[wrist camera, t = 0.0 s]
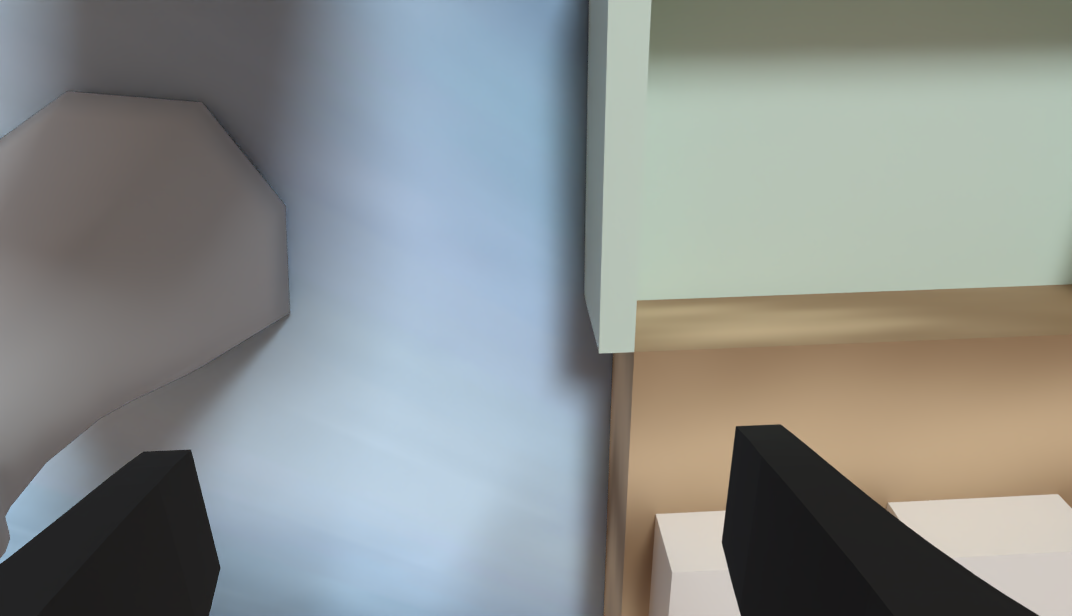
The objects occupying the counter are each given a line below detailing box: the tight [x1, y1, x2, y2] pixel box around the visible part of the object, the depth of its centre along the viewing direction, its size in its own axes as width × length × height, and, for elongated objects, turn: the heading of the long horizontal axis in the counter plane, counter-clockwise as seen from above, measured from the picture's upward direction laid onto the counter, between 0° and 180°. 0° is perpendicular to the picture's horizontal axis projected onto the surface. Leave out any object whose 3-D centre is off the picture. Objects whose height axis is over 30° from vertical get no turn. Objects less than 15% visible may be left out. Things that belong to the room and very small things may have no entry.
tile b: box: [886, 494, 1072, 616], centre depth 21 cm, size 4×4×2 cm
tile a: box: [649, 511, 741, 616], centre depth 21 cm, size 4×4×2 cm
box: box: [584, 0, 1072, 354], centre depth 18 cm, size 9×14×3 cm, turn 91°
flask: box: [0, 91, 290, 558], centre depth 15 cm, size 7×7×10 cm
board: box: [604, 284, 1072, 616], centre depth 23 cm, size 13×12×3 cm
